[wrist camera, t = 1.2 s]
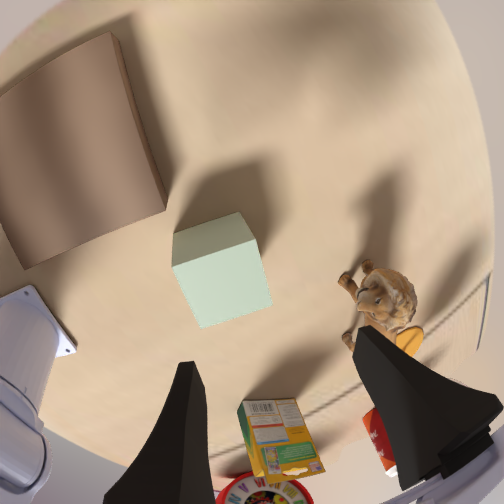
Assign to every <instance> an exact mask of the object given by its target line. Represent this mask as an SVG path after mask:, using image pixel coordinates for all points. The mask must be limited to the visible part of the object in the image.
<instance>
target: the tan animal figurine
mask: <svg viewBox="0 0 504 504" xmlns="http://www.w3.org/2000/svg"><path fill="white" fill-rule="evenodd" d="M372 268H373V263H372V262H371V261H370V260H366V261H364V262H363V263H362V270H363V272H364V273H365V275H366V277H365V278H364V279H363V280H362V282H361V287H360V288H358V287H357V285H356V283H355V282H354V280H352V279H351V278H350V276H349V275H343V276H342V277H341V278H340V280H339V281H338V284H339V285H341V286H342V287H344V288H345V289H346V290H347V291H348V292H349V293H350V294H351V296H352V298H353V299H354V301H355V303H356V307H357V310H358V311H363V312H364V314H365V326H368V325H371V326H373V327H374V328H375V329H376V330H378V331H379V332H380V333H381V334H383V335H384V336H385V337H386V338H388V339H389V340H390V341H391V342H393V343H394V344H395V345H396V337H397V331H398V329H403V328H404V327H405V325H406V324H407V323H409V322H411V320H412V317H413V316H414V314H415V312H416V306H417V296H416V294H415V291H414V286H413V284H411V283H410V282H409V281H408V279H407V278H406V277H405V276H403V275H402V274H400V273H399V272H396V271H394V270H390V269H385V268H382V269H380V268H377V269H374V270H373V269H372ZM342 340H343V341H344V342H345V344H346V345H347V346H348V347H349V349H350V350H351V351H352V352H354V348H355V343H356V342H354V343H353V341H352V335H351V334H350V333H346V334H344V335H343V336H342Z"/></svg>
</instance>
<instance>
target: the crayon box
mask: <svg viewBox="0 0 504 504" xmlns="http://www.w3.org/2000/svg"><path fill="white" fill-rule="evenodd" d="M237 415H238V418H239V422H240V426H241V430H242V433H243V437H244V441H245V445H246V448H247V452H248V456H249V459H250V463H251V466H252V470H253V473H254V476H255V477H260V476H265V478H266V482H267V484H273V483H279V482H284V481H289V480H294V479H299V478H303V477H307V476H312V475H316V474H320V473H323V472H325V469H324V467H323V464H322V462H321V461H320V457H319V455H318V453H317V450H316V448H315V446H314V443H313V441H312V439H311V436H310V434H309V431H308V429H307V427H306V424H305V422H304V419H303V417H302V414H301V412H300V410H299V407H298V405H297V402H296V400H295V399H294V398H290V399H281V400H259V401H247V400H244V401H242V403H241V406H240V408H239V410H238V411H237ZM306 468H307V469H308V471H307V472H303V473H300V474H299V475H288V476H284V475H283V474H282V473H285V472H290V471H296V470H301V469H306Z"/></svg>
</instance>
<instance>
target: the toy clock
mask: <svg viewBox="0 0 504 504" xmlns="http://www.w3.org/2000/svg"><path fill="white" fill-rule="evenodd" d="M282 474H283V473H282ZM283 475H284V476H288V475H286V474H283ZM215 501H216V504H314V502H313V499H312V497H311V496H310V494H309V492H308V491H307V490H306V488H305V487H304V486H303V485H302V484H301V483H299V482H298V481H296V480H295V479H294V480H289V481H284V482H279V483H273V484H267V482H266V478H265V476H260V477H255V476H254V473H253V471H252V472H249V473H246V474H243V475H241V476H239V477H238V478H236V479H235V480H234V481H232V482H231V483H230V484H229V485H228V486H226V487H225V488H224V489H223V490H222V491H221V492H220V493H219V495H218V497H217V498H216V500H215Z"/></svg>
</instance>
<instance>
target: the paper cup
mask: <svg viewBox="0 0 504 504" xmlns="http://www.w3.org/2000/svg"><path fill="white" fill-rule="evenodd" d="M363 422H364V425H365V427H366V429H367V431H368V433H369V436H370V438H371V440H372V442H373V444H374V446H375V448H376V450H377V453H378V455H379V457H380V459H381V461H382V463H383V465H384V467H385V470H386V472H385V474H388V475H389V476H390V477H392V476H395V475H397V474H398V473H397V468H396V463H395V459H394V456H393V452H392V448H391V445H390V442H389V439H388V436H387V433H386V430H385V427H384V424H383V422H382V419H381V417H380V415H379V412H378V410H377V409H376V408H374V409H373V410H371V411H370V412H368V413H367V414H366V415H365V416H364V418H363Z"/></svg>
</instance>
